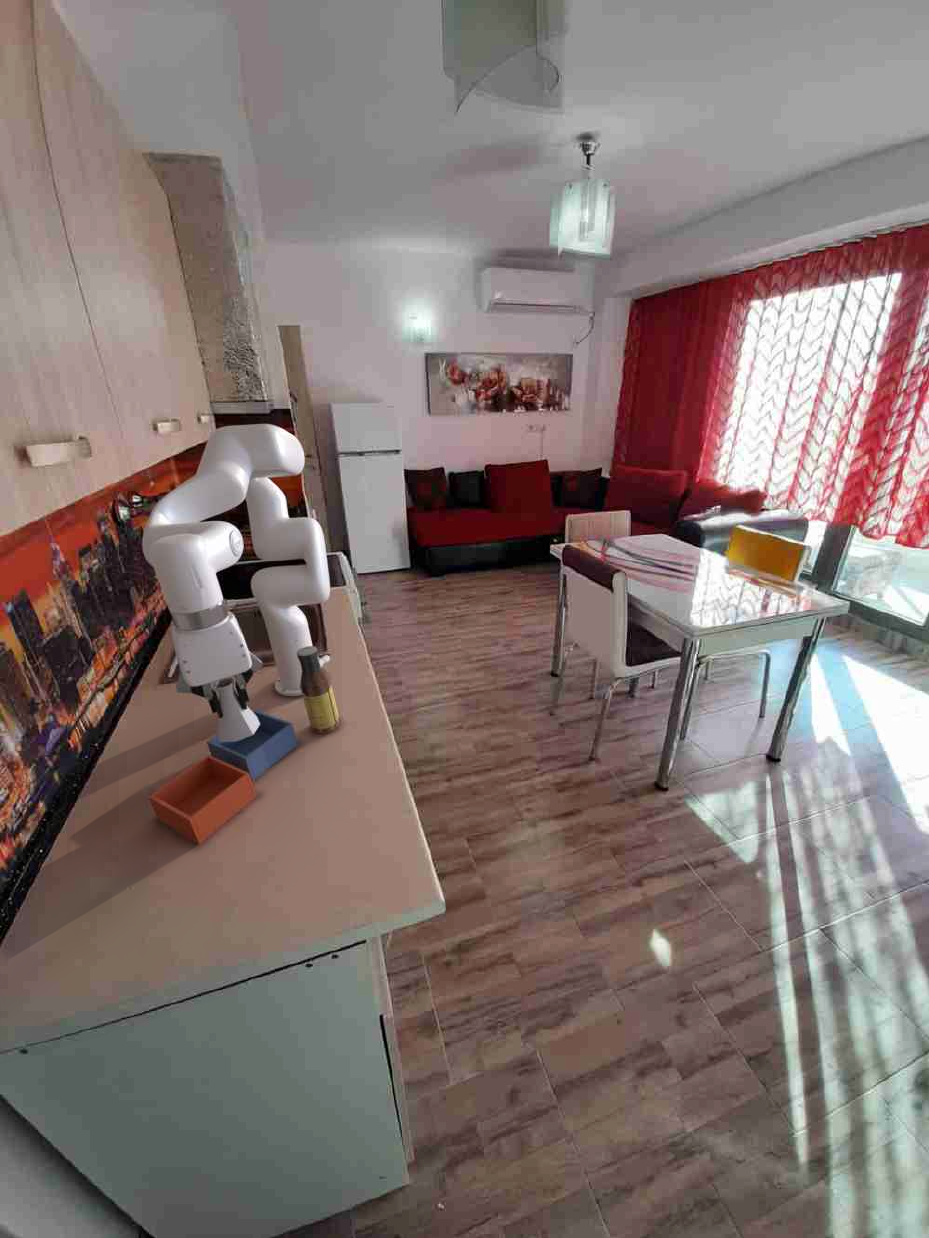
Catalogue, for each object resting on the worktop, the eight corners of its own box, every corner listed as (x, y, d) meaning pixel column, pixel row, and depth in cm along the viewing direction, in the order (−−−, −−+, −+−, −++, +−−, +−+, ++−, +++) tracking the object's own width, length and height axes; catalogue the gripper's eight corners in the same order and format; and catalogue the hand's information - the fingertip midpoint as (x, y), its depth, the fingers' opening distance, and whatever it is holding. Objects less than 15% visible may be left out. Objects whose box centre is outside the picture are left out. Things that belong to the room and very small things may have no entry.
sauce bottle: (324, 715, 110) (307, 639, 101) (345, 721, 107) (330, 644, 99) (304, 732, 105) (285, 654, 96) (326, 738, 102) (308, 659, 94)
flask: (213, 747, 80) (195, 699, 76) (220, 721, 86) (204, 675, 82) (258, 738, 82) (243, 690, 77) (262, 713, 88) (248, 667, 83)
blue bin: (260, 729, 106) (254, 709, 104) (297, 744, 101) (292, 723, 99) (214, 763, 97) (206, 741, 95) (252, 781, 92) (245, 758, 89)
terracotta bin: (216, 776, 93) (208, 754, 91) (256, 796, 88) (249, 773, 86) (158, 819, 84) (147, 796, 82) (199, 844, 79) (189, 820, 77)
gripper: (251, 593, 80) (276, 683, 89) (139, 620, 73) (178, 716, 81) (260, 608, 75) (285, 703, 83) (139, 639, 67) (180, 740, 75)
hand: (232, 708), depth 82 cm, fingers closed on flask, 3 cm apart
